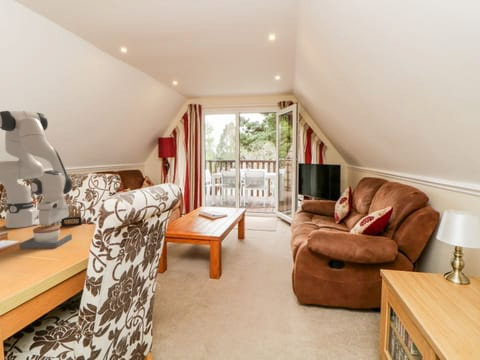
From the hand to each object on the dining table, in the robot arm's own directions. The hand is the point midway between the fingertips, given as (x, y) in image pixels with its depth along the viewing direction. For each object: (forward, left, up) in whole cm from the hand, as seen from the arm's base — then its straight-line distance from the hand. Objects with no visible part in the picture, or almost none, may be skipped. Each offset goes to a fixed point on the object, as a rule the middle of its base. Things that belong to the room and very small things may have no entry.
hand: (56, 229), depth 141 cm
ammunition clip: (-28, -6, -5) cm, 29 cm away
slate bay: (+7, 0, -5) cm, 9 cm away
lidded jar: (+7, 0, -5) cm, 9 cm away
